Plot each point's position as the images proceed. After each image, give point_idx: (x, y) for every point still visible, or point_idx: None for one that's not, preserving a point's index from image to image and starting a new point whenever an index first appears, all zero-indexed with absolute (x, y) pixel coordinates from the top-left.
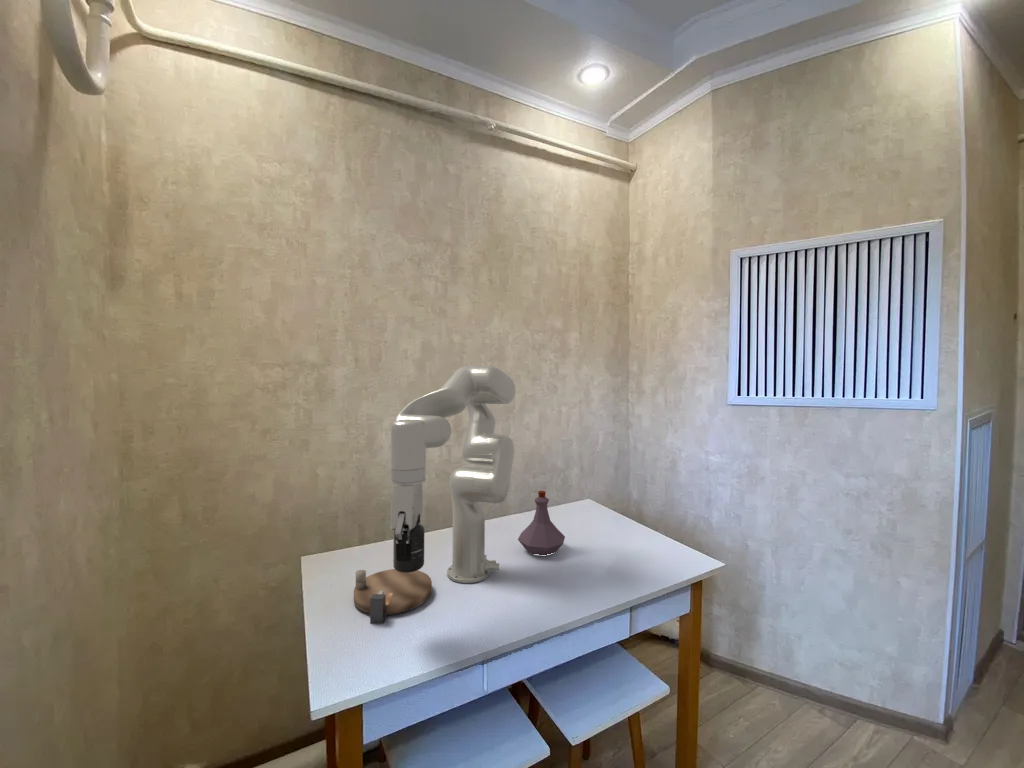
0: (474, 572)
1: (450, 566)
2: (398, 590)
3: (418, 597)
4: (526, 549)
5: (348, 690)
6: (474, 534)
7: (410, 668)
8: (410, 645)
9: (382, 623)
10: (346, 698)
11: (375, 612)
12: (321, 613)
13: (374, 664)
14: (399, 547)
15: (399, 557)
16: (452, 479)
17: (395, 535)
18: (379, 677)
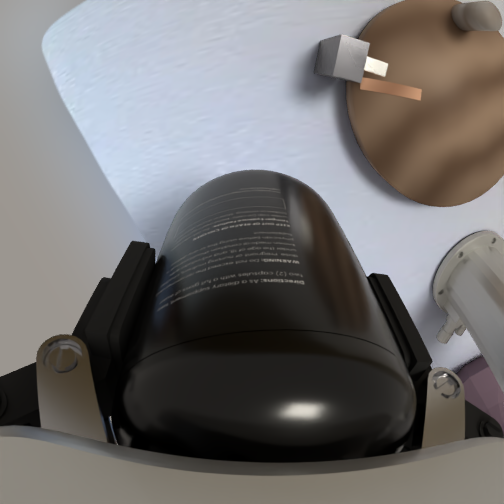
0: (450, 295)
1: (502, 240)
2: (431, 117)
3: (382, 173)
4: (481, 358)
5: (68, 66)
6: (492, 362)
7: (127, 171)
8: (206, 157)
9: (314, 72)
10: (51, 72)
11: (325, 53)
12: None
13: (140, 88)
14: (75, 331)
15: (103, 278)
16: None
17: (149, 358)
18: (100, 113)
